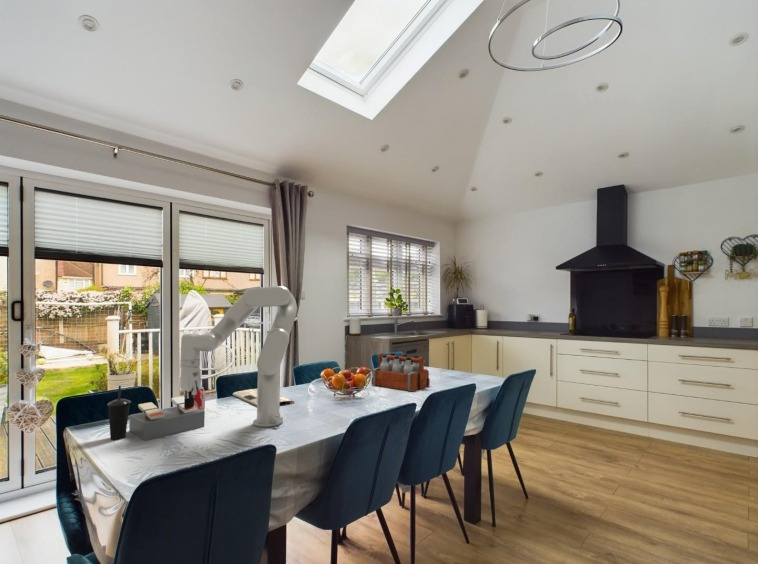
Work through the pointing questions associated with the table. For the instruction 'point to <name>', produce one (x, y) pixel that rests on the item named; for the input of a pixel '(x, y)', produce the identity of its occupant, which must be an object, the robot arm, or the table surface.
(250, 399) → the newspaper
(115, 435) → the drinking cup
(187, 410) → the white rocker
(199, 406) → the soda can
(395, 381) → the milk bottle holder
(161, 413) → the sand rocker
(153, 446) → the table surface
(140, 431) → the switch box
